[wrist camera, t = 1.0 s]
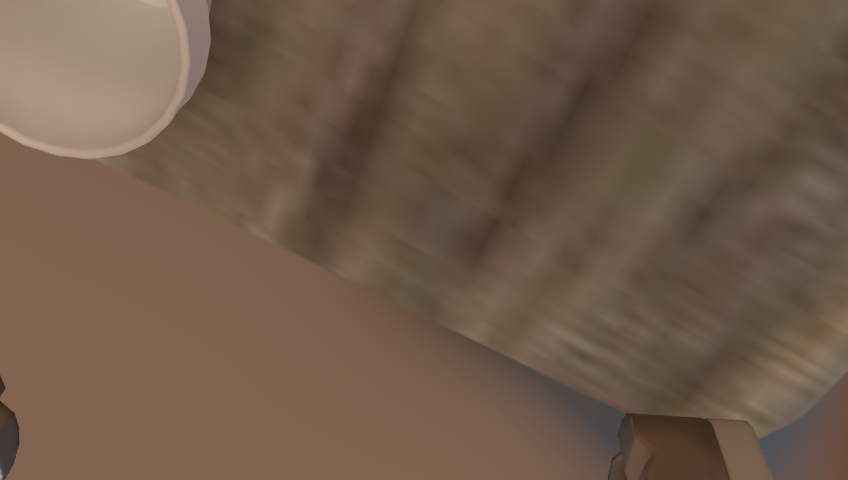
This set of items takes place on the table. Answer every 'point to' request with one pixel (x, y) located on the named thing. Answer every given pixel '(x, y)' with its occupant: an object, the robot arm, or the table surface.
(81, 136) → the flower pot
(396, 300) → the table surface
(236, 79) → the table surface
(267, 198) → the table surface
